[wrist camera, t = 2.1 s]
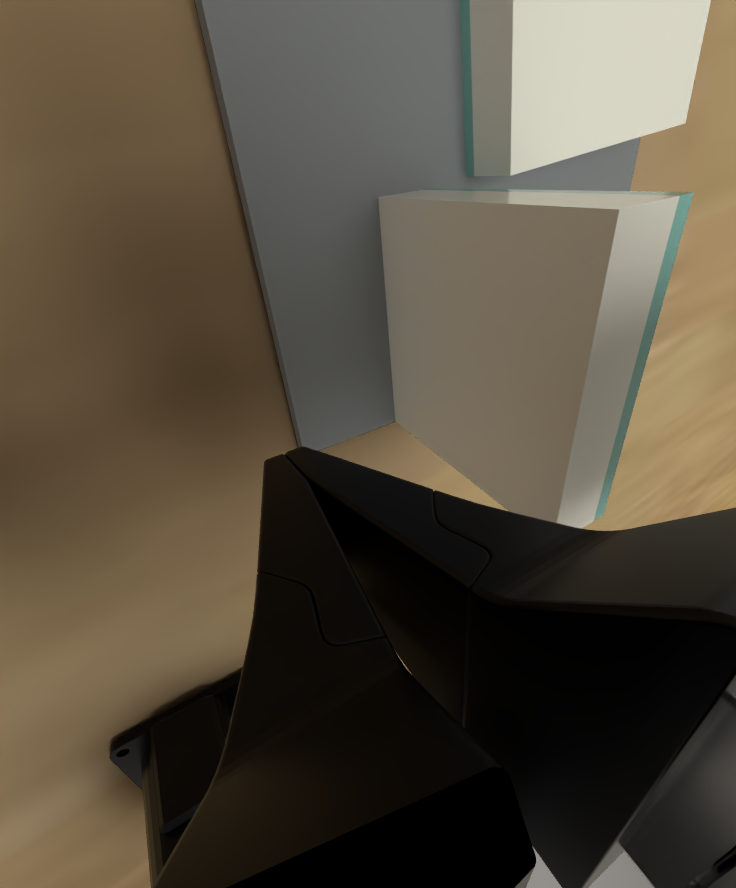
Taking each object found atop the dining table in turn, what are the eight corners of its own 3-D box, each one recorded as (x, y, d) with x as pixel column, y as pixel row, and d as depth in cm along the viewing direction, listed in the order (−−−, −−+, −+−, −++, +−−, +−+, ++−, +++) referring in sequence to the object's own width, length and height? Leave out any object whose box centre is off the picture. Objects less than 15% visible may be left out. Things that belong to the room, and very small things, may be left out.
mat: (587, 340, 22) (597, 343, 22) (298, 448, 17) (304, 456, 16) (683, -158, 13) (704, -170, 13) (128, -284, 8) (130, -312, 7)
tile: (435, 406, 18) (603, 515, 12) (395, 421, 18) (552, 545, 12) (432, 188, 14) (693, 192, 8) (378, 197, 13) (620, 209, 7)
